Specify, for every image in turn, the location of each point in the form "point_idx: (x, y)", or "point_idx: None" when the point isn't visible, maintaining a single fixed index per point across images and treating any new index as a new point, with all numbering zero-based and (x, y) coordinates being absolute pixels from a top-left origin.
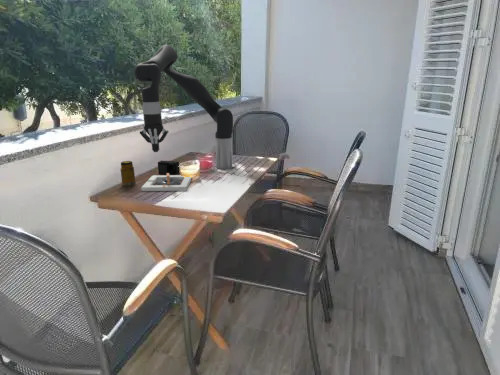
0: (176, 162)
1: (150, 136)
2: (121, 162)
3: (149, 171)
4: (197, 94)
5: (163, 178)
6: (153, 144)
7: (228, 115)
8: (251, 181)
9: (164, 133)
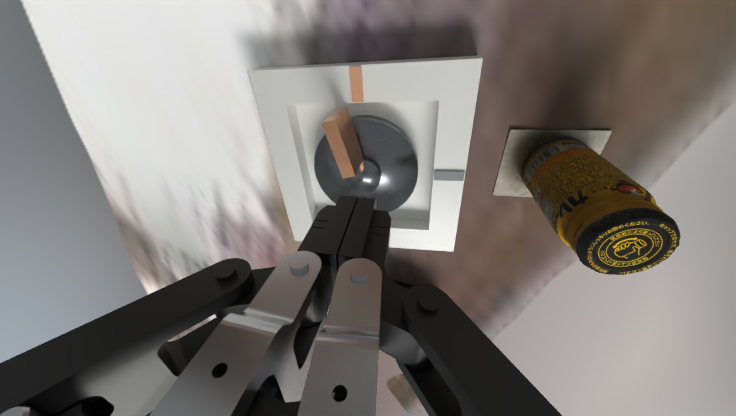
0: None
1: (352, 383)
2: (676, 240)
3: (479, 325)
4: None
5: (401, 224)
6: (353, 254)
7: None
8: (110, 196)
9: None
